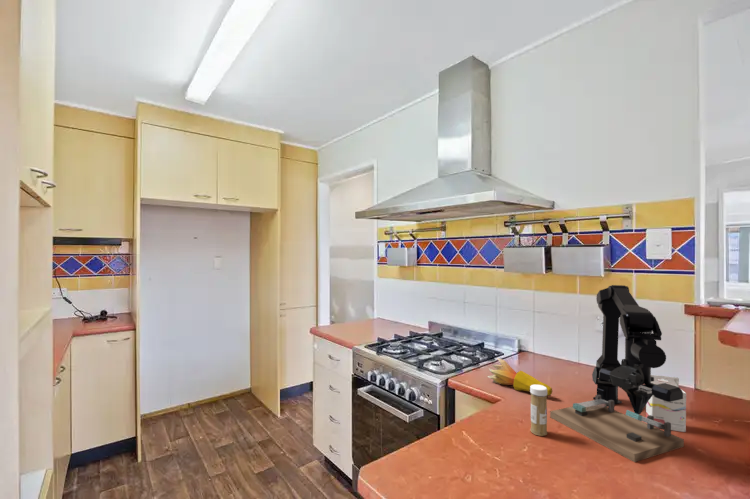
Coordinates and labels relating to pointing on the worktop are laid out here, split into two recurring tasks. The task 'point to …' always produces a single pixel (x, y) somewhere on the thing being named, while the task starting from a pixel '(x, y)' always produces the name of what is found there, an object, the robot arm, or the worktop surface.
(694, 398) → the worktop surface
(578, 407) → the bar
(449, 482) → the worktop surface
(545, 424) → the sprinkles bottle
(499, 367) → the torch
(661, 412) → the ink cartridge box
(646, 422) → the bar
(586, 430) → the jig board
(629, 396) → the robot arm
